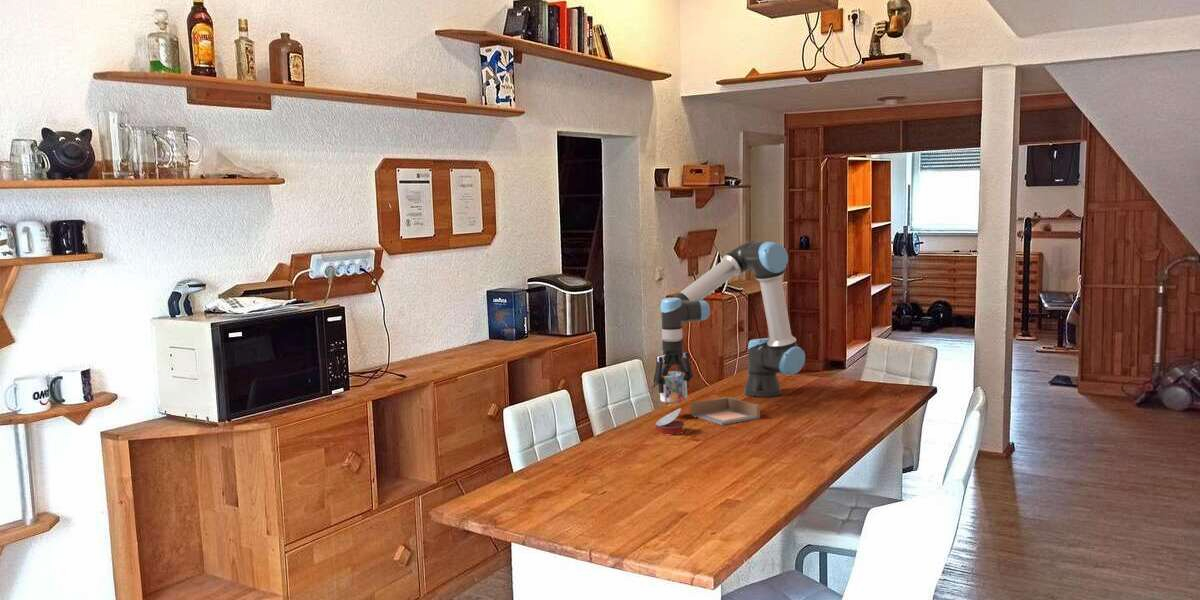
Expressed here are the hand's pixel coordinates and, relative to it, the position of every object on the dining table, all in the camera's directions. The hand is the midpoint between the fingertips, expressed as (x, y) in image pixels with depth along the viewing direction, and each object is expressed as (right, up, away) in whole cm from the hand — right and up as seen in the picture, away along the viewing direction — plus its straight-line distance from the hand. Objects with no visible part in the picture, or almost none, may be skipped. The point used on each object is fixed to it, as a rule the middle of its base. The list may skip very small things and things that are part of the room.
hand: (673, 399), depth 341 cm
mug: (0, -1, 0) cm, 1 cm away
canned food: (-3, -9, -21) cm, 23 cm away
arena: (+19, -6, -2) cm, 20 cm away
